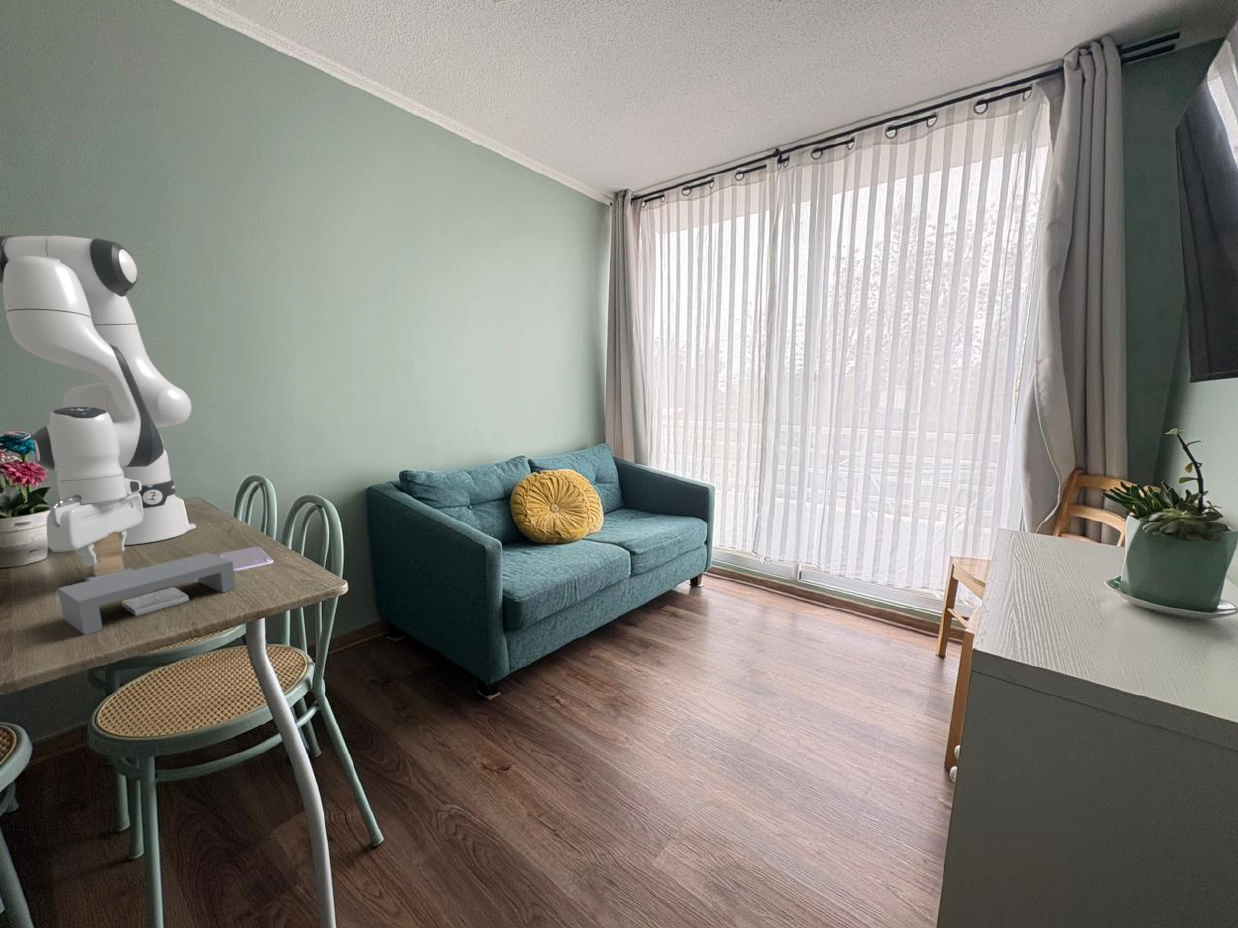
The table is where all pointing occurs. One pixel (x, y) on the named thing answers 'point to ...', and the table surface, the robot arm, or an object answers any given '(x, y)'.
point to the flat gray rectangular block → (155, 601)
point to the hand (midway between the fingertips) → (105, 558)
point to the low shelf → (140, 586)
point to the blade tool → (107, 558)
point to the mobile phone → (247, 558)
